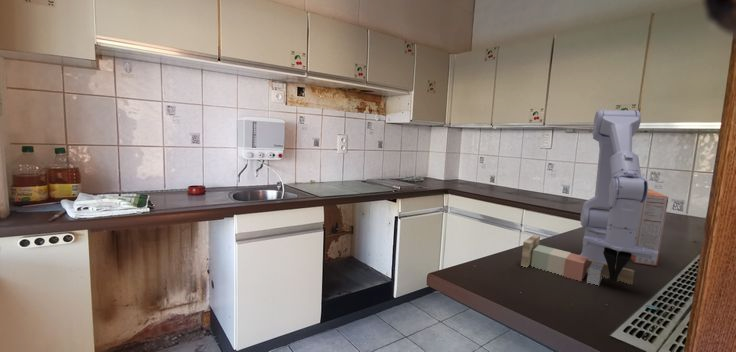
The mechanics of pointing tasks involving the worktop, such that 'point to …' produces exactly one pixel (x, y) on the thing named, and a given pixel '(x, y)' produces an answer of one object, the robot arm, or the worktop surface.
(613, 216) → the robot arm
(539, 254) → the pale green block
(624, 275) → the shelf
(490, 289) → the worktop surface
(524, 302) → the worktop surface
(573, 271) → the pink rectangular block
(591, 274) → the grey rectangular block
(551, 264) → the cream rectangular block
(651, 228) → the cracker box
